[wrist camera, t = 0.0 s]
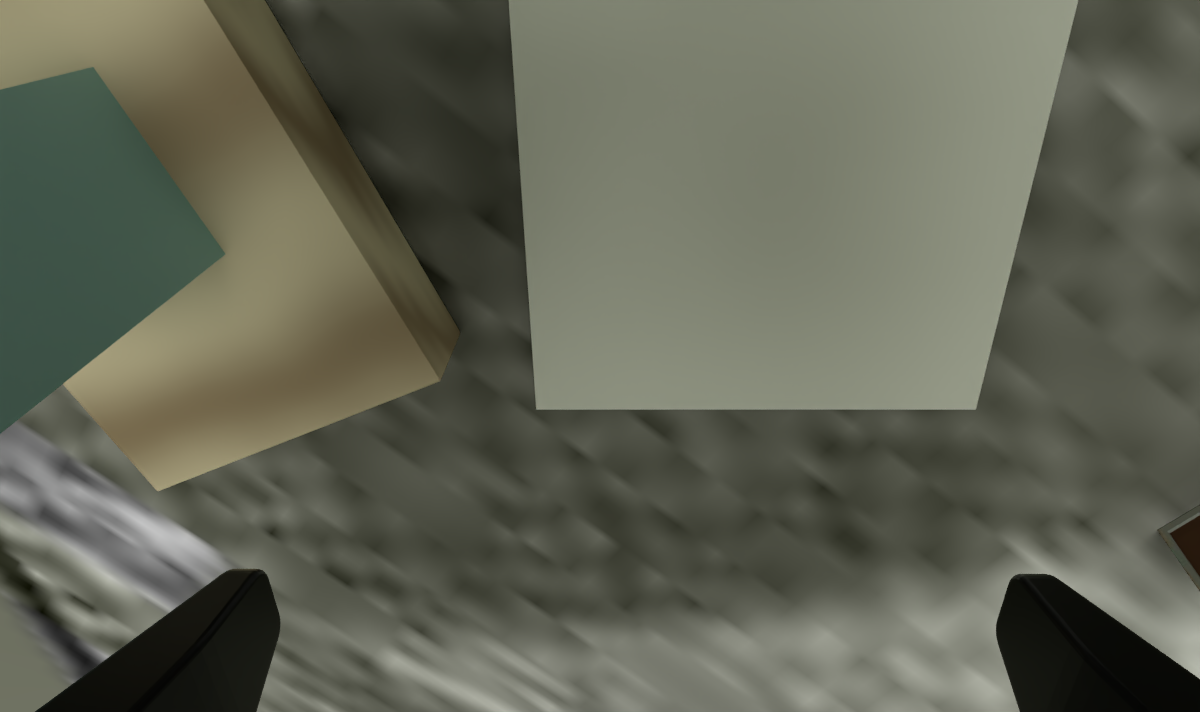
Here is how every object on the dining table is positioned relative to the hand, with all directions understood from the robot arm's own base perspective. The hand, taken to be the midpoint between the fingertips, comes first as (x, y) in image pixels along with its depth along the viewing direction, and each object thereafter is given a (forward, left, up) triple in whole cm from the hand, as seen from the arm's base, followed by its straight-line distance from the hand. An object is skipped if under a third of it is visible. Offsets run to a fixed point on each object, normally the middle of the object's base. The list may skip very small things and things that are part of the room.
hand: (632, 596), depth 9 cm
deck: (+2, +13, -15) cm, 20 cm away
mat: (+4, -4, -15) cm, 16 cm away
